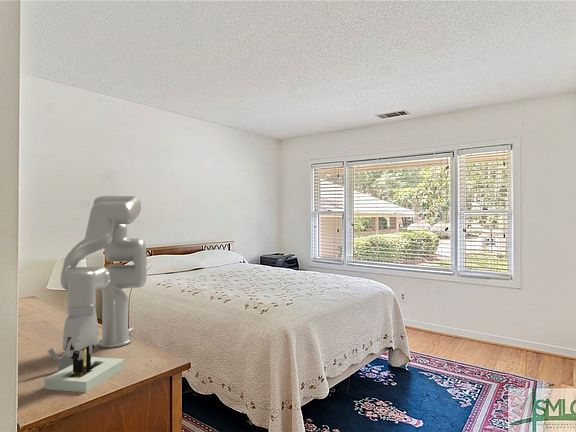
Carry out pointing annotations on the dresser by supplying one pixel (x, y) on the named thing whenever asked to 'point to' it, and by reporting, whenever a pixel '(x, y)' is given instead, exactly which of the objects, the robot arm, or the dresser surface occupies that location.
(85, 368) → the peg
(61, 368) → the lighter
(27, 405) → the dresser surface
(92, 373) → the board
